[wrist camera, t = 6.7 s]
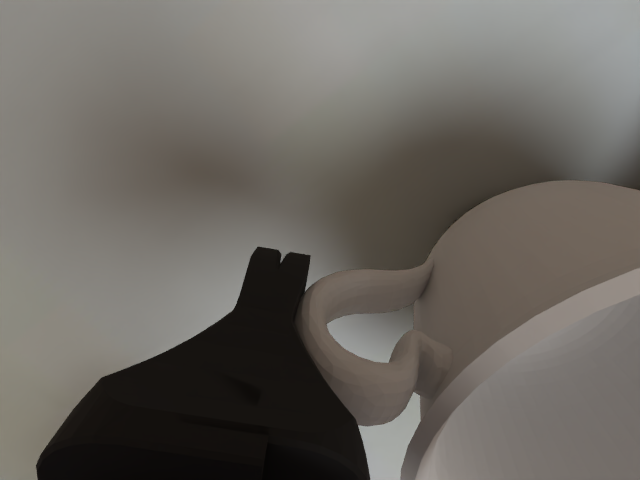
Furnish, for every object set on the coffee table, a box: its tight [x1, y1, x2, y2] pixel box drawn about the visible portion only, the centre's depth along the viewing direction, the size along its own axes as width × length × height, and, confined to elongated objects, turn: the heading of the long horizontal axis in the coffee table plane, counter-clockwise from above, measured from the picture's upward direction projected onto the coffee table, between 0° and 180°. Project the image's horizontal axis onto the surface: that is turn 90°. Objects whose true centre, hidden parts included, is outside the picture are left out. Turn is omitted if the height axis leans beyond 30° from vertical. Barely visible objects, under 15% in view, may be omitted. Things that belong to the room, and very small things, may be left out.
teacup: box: [294, 180, 640, 480], centre depth 12 cm, size 12×15×10 cm
